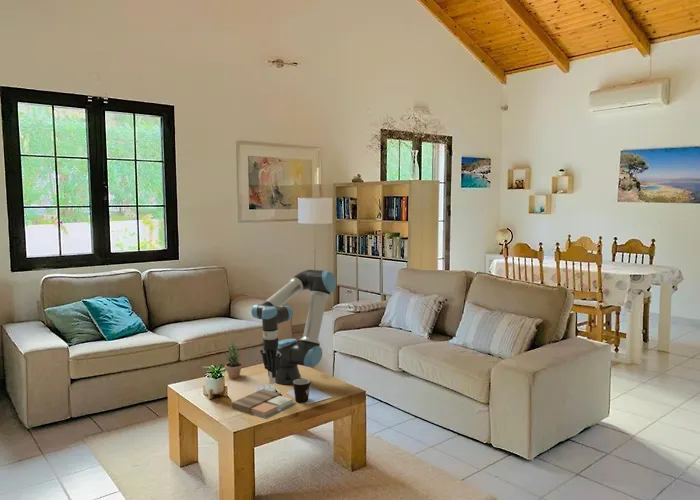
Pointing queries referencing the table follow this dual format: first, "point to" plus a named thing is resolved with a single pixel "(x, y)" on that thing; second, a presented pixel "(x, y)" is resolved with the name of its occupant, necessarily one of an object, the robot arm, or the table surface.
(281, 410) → the slate mat
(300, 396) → the coffee mug
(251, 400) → the walnut board
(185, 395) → the table surface
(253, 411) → the terracotta coaster
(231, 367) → the potted plant
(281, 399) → the cream coaster
